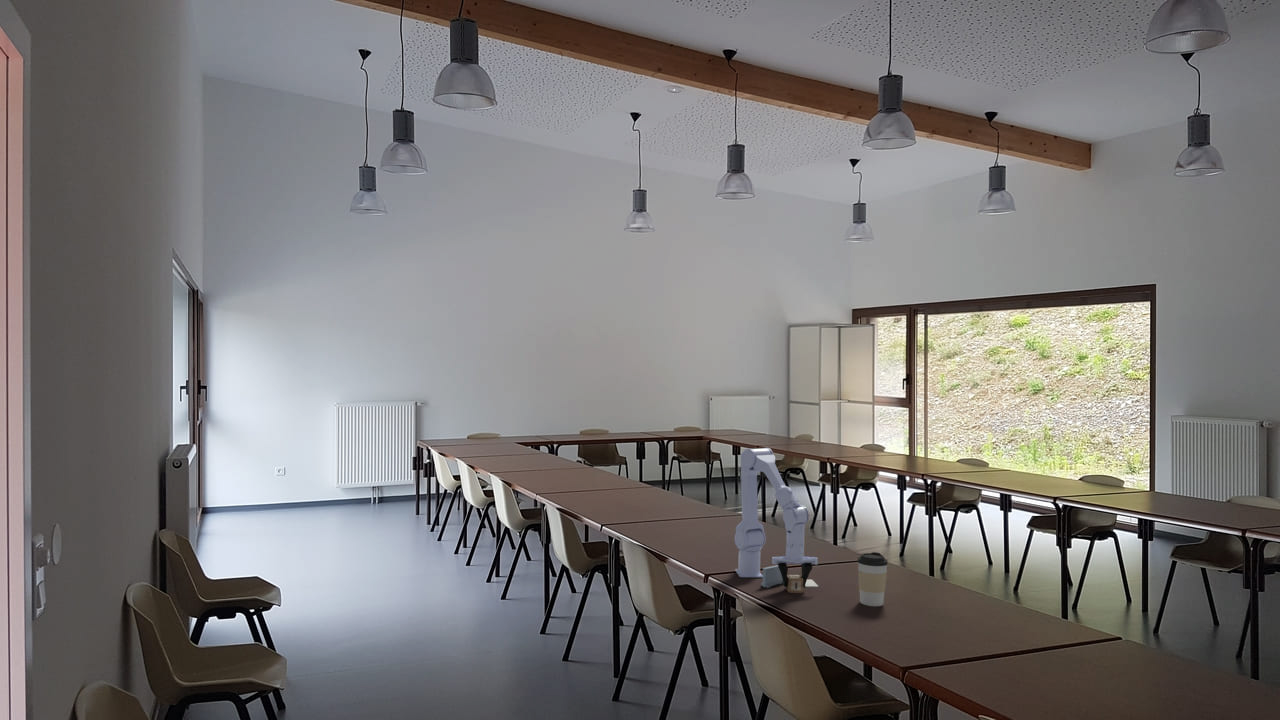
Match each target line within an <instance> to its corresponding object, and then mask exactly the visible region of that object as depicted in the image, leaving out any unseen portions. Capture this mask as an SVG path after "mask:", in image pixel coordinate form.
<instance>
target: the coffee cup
mask: <svg viewBox="0 0 1280 720" xmlns="http://www.w3.org/2000/svg"><path fill="white" fill-rule="evenodd" d="M888 561H889V560H888V559H886V558H885V556H884V555H882V554H881V553H879V552H875V551H872V552H866V553H865V552H864V553H862V554H861V555H860V556H858V557H857V561H856V562H857V565H858V566H857V567H858V569H857V575H858V577H857V578H858V589H859V603H860V604H862V605H864V606H868V607H881V606H883V605H884V601H885V600H884V599H885V592H886V583H887V575H888V574H887V573H888V571H887V569H888V568H887V567H888V564H889V563H888Z"/></svg>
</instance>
